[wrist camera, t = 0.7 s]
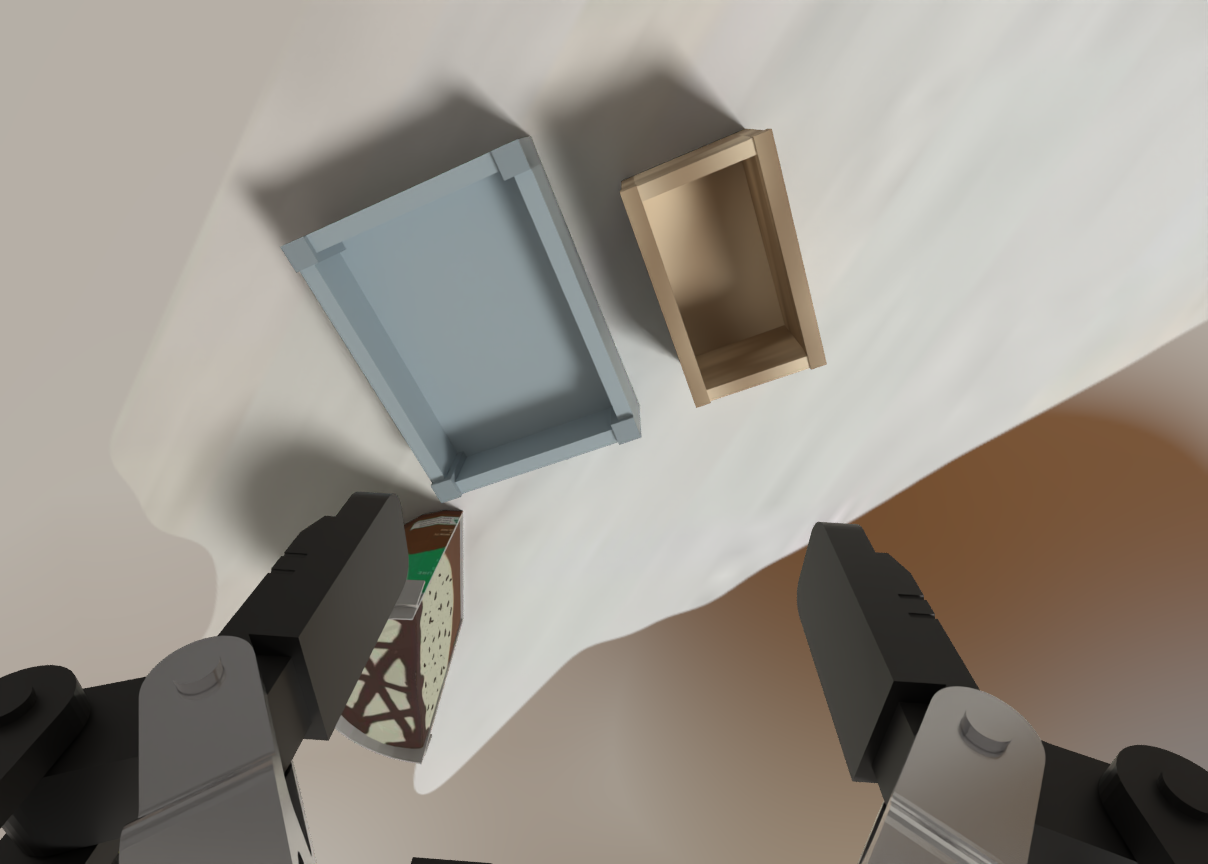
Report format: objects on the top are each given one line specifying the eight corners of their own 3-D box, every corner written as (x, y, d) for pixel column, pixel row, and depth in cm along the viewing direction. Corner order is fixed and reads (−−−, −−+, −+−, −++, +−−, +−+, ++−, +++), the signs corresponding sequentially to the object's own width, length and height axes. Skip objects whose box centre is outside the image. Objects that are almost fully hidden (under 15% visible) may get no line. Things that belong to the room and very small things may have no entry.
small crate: (746, 127, 27) (771, 129, 22) (797, 328, 31) (826, 364, 26) (620, 180, 28) (619, 192, 23) (685, 367, 32) (696, 407, 28)
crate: (530, 136, 27) (517, 138, 24) (639, 405, 33) (641, 437, 30) (319, 231, 29) (280, 246, 26) (458, 466, 36) (441, 503, 32)
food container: (362, 480, 36) (279, 597, 27) (462, 491, 36) (412, 610, 28) (377, 625, 42) (312, 759, 33) (463, 633, 42) (421, 769, 33)
